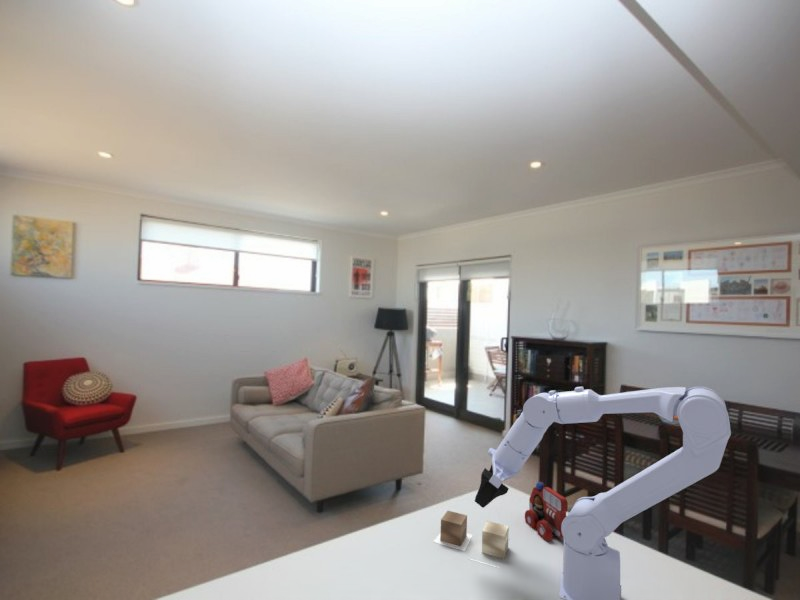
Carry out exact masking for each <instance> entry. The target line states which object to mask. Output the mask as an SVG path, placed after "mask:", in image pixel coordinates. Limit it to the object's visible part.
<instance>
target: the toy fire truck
mask: <svg viewBox="0 0 800 600" xmlns="http://www.w3.org/2000/svg"><path fill="white" fill-rule="evenodd" d="M528 500H529V501H528V502H529V503H528V504H529V506H528V507H529V508H528V509H527V510H526V511H525V513H524V519H525V523H526V524H527V525H528V526H529V528H531V529H536V532H537V535H538V536H539V537H540V538H541V539H542V540H544V541H546V542H549V541H551V540H552V539H553V537H554V536H555V537H557V538H559V539H562V538H563V539H564V537H563V535H562V531H561V525H562V522H563V520H564V518H565V517H566V516H567V512H568V510H569V508H568V500H567V498H566V497H564V496H563V495H561V494H559V492H557V491H555V490H554V489H552V488H550V487H549V486H546V485H545V483H544V482H542V481H538V482H537V483H536V485H535V486H534V487H533V488H532V491H531V493H530V496H529V499H528Z"/></svg>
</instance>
